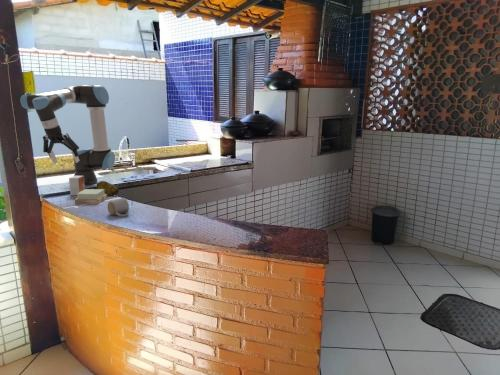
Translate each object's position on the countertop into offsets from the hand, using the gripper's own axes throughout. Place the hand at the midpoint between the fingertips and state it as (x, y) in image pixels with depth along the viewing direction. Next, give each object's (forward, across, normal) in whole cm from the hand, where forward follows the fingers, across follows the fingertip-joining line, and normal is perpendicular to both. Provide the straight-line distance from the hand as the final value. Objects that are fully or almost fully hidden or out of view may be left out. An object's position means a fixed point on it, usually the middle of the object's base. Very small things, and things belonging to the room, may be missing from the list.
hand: (66, 162), depth 202 cm
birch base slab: (+22, +10, -6) cm, 25 cm away
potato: (+27, +12, +8) cm, 30 cm away
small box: (+24, -6, +6) cm, 26 cm away
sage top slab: (+20, +11, -5) cm, 23 cm away
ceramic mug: (+18, +39, -26) cm, 50 cm away
